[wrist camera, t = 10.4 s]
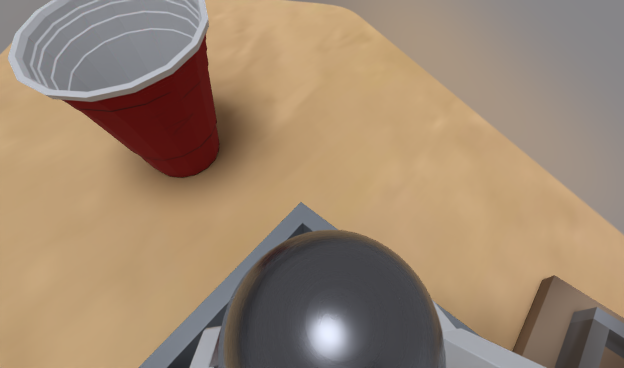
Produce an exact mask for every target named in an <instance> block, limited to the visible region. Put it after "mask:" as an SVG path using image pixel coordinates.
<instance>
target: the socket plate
mask: <svg viewBox="0 0 624 368" xmlns="http://www.w3.org/2000/svg"><path fill="white" fill-rule="evenodd" d="M513 352H514V353H516V354H518V355H520V356H522V357H524V358H527V359H529V360H531V361H533V362H535V363H537V364H540V365H542V366H544V367H546V368H624V318H623V317H621V316H619V315H618V314H616V313H614V312H613V311H611V310H610V309H608V308H606V307H605V306H603V305H602V304H600V303H598V302H597V301H595V300H593V299H592V298H590V297H589V296H587V295H585V294H584V293H582V292H581V291H579V290H577V289H576V288H574V287H572V286H571V285H569V284H568V283H566V282H564V281H563V280H561V279H560V278H558V277H556V276H555V275H554V276H552V277H549V278H547V279H544V280H542V283H541V285H540V288H539V290H538V292H537V295H536V297H535V299H534V302H533V304H532V307H531V309H530V311H529V314H528V316H527V319H526V321H525V323H524V326H523V328H522V330H521V333H520V335H519V338H518V340H517V342H516V345H515V347H514V350H513Z"/></svg>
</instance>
